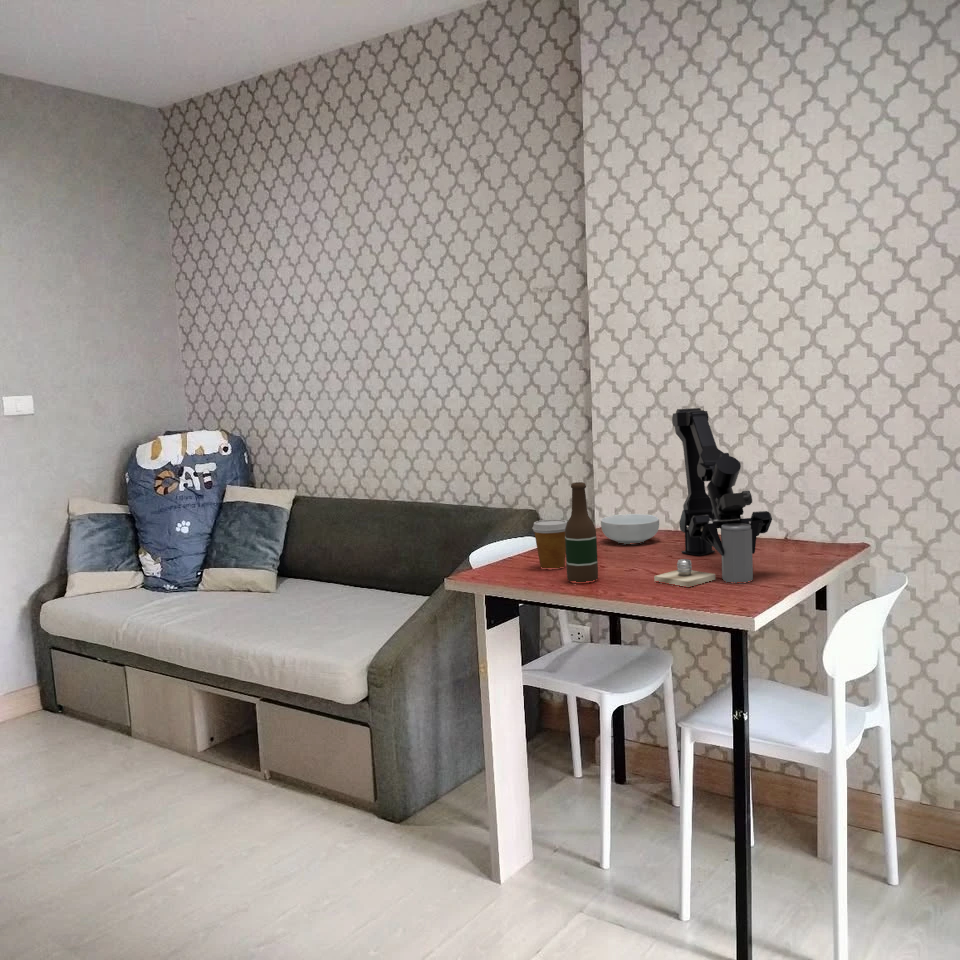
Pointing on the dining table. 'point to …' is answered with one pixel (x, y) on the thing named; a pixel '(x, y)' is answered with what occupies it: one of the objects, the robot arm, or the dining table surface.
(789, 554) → the dining table surface
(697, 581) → the birch base
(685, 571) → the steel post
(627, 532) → the cereal bowl
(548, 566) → the disposable coffee cup
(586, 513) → the beer bottle
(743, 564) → the charcoal can
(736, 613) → the dining table surface
